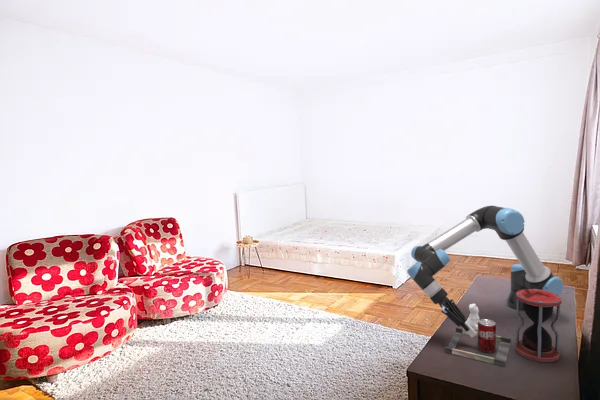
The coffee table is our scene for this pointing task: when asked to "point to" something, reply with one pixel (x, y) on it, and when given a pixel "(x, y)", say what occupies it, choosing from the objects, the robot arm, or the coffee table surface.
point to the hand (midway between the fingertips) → (474, 335)
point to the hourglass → (537, 325)
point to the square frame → (499, 359)
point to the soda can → (486, 335)
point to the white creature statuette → (473, 316)
